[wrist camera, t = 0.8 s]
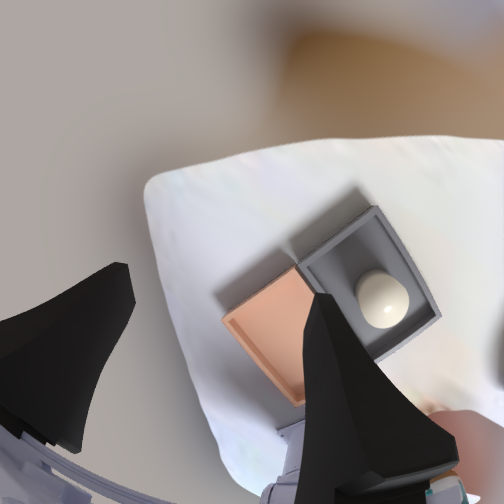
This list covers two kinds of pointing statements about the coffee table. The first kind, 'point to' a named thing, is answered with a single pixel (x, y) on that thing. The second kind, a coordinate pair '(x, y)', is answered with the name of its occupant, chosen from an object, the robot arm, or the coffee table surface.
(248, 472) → the coffee table surface
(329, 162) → the coffee table surface
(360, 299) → the beige rounded cylinder
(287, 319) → the tray
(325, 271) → the tray
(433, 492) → the vase
